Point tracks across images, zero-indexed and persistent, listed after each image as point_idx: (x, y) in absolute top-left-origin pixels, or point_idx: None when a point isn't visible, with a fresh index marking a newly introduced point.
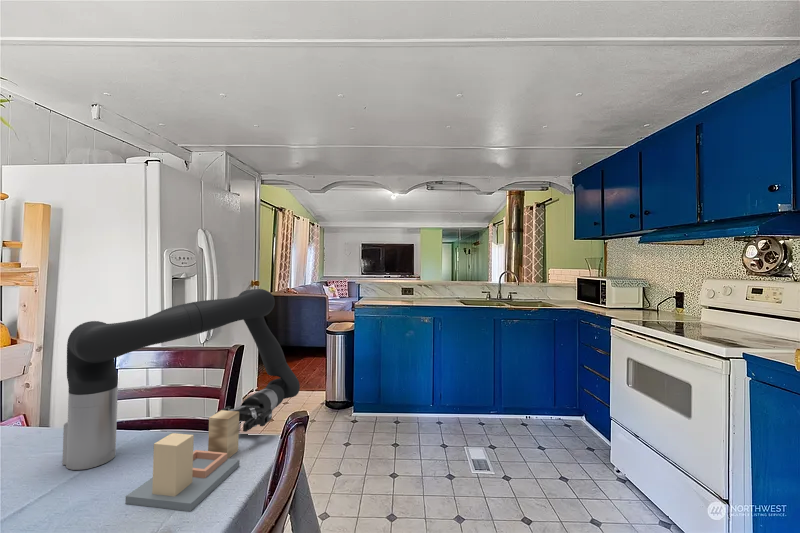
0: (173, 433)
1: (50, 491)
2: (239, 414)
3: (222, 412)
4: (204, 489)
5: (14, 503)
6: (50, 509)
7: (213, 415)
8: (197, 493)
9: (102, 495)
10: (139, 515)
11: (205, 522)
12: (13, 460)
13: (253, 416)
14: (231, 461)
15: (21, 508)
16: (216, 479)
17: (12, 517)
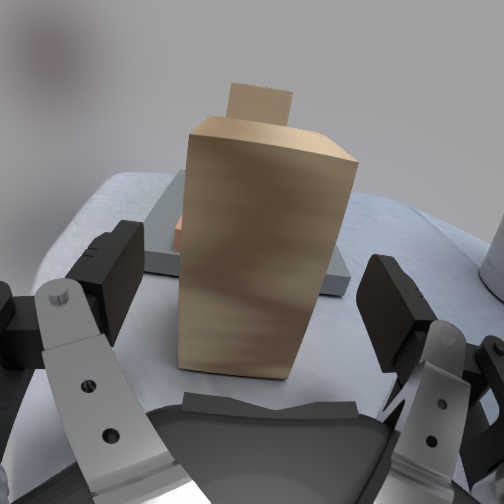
0: (288, 91)
1: (441, 233)
2: (311, 409)
3: (312, 145)
4: (174, 183)
5: (440, 221)
6: (390, 209)
7: (325, 138)
8: (182, 179)
9: (367, 219)
10: None
11: (145, 175)
12: None
13: (76, 306)
14: (152, 242)
15: (421, 214)
16: (163, 197)
17: (407, 206)
